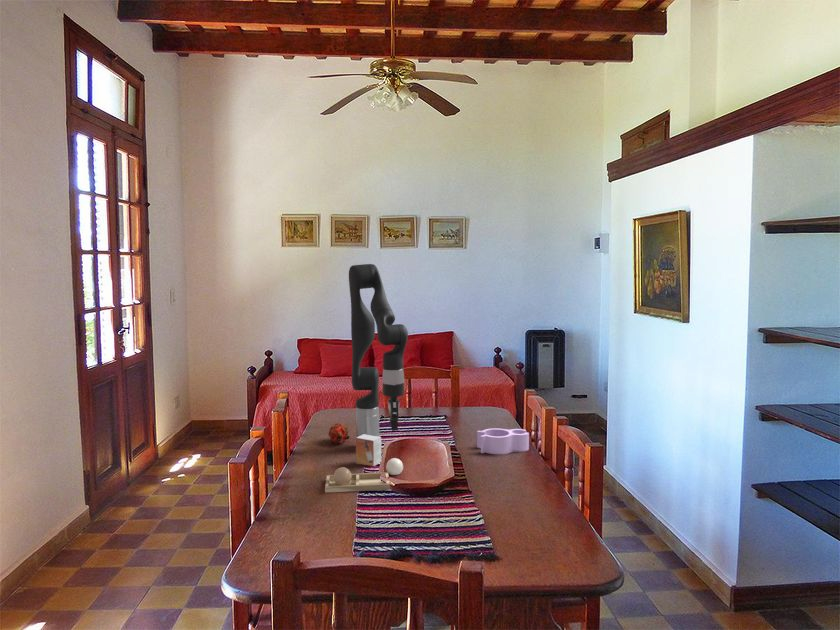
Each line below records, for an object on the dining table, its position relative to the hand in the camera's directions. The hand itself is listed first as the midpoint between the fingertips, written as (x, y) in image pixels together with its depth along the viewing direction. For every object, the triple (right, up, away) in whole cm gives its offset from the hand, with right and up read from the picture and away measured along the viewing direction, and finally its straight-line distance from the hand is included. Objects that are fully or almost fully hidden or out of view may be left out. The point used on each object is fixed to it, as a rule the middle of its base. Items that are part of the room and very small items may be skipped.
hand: (393, 426), depth 199 cm
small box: (-10, -17, +13) cm, 23 cm away
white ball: (0, -17, +2) cm, 18 cm away
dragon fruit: (-25, -15, +39) cm, 49 cm away
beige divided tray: (-12, -19, -9) cm, 24 cm away
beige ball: (-17, -18, -9) cm, 26 cm away
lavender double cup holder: (+43, -15, +29) cm, 54 cm away
